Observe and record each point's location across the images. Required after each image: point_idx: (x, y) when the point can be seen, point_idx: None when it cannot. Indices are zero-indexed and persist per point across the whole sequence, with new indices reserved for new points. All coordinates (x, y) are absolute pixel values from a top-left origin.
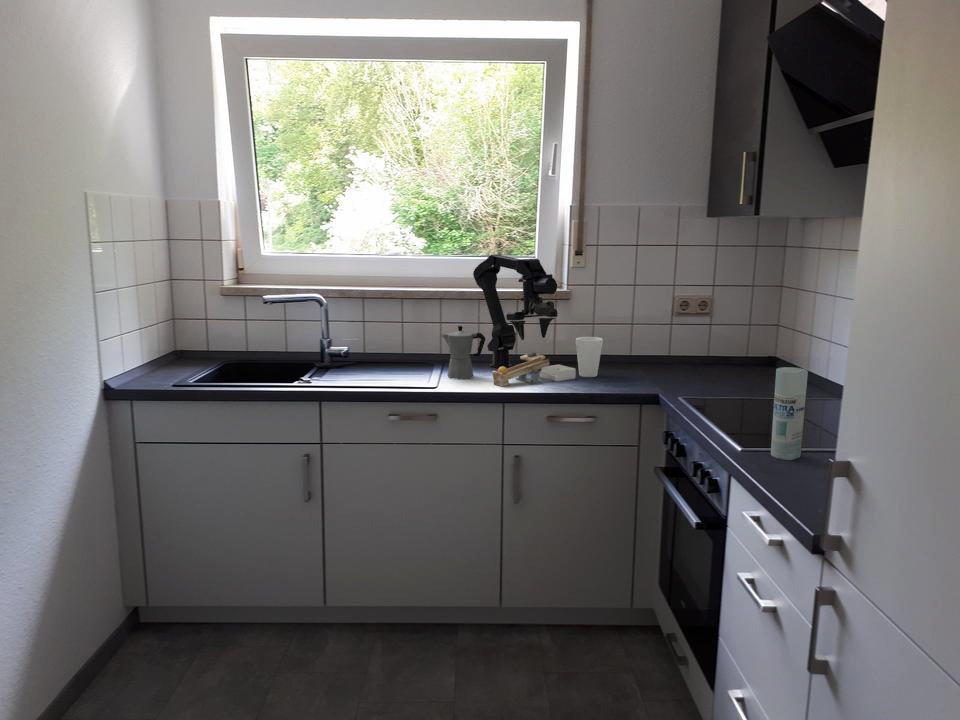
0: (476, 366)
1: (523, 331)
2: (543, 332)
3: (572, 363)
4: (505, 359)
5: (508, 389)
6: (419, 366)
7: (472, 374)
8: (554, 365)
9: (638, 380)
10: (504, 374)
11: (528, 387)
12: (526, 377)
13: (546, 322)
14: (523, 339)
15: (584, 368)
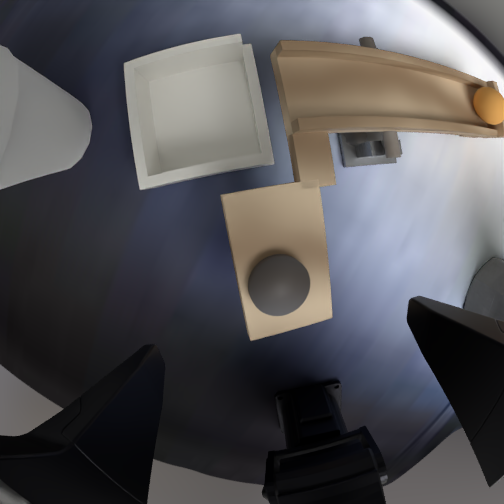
0: (371, 420)
1: (475, 323)
2: (143, 386)
3: (51, 353)
4: (318, 404)
5: (455, 52)
6: (460, 424)
7: (481, 277)
8: (173, 173)
9: (12, 37)
10: (483, 85)
11: (395, 31)
12: (350, 151)
13: (60, 454)
14: (418, 296)
15: (71, 99)
